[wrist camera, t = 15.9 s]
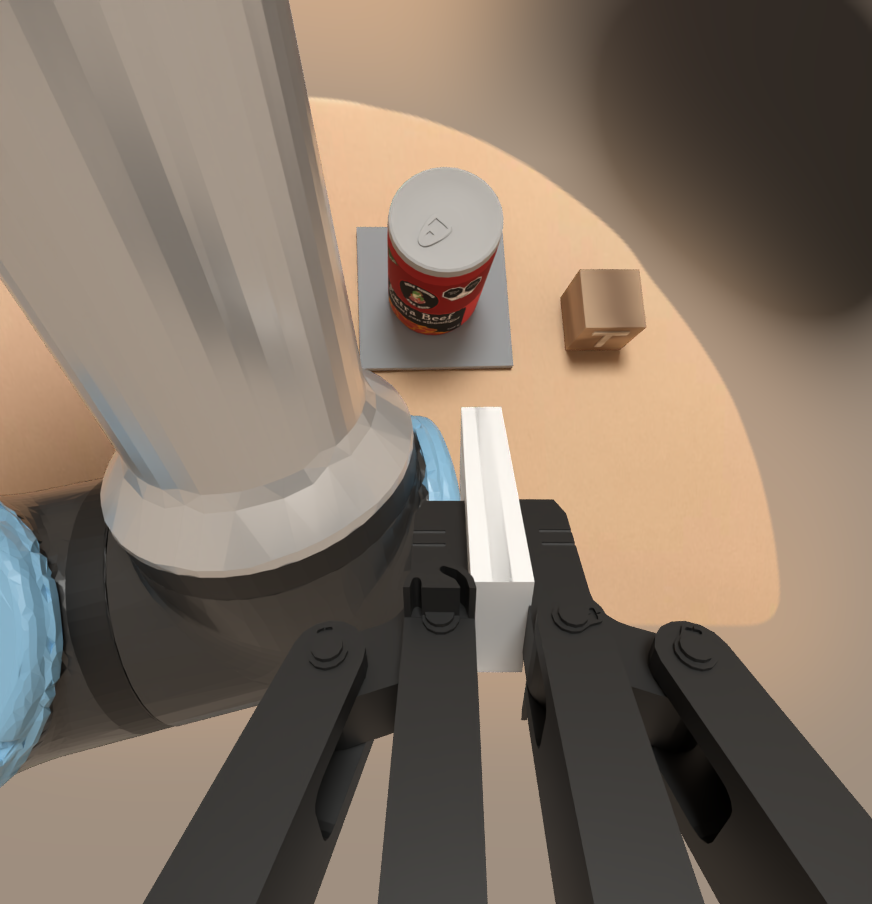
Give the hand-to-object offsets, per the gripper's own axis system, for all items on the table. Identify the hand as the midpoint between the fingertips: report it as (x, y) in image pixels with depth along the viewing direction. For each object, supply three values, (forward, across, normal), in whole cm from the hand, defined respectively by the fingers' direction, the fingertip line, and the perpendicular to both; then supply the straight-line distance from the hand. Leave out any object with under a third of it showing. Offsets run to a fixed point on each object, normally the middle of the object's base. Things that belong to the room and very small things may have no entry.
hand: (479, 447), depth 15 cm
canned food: (+32, -2, -5) cm, 33 cm away
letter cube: (+33, +12, -8) cm, 36 cm away
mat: (+33, -2, -6) cm, 33 cm away
